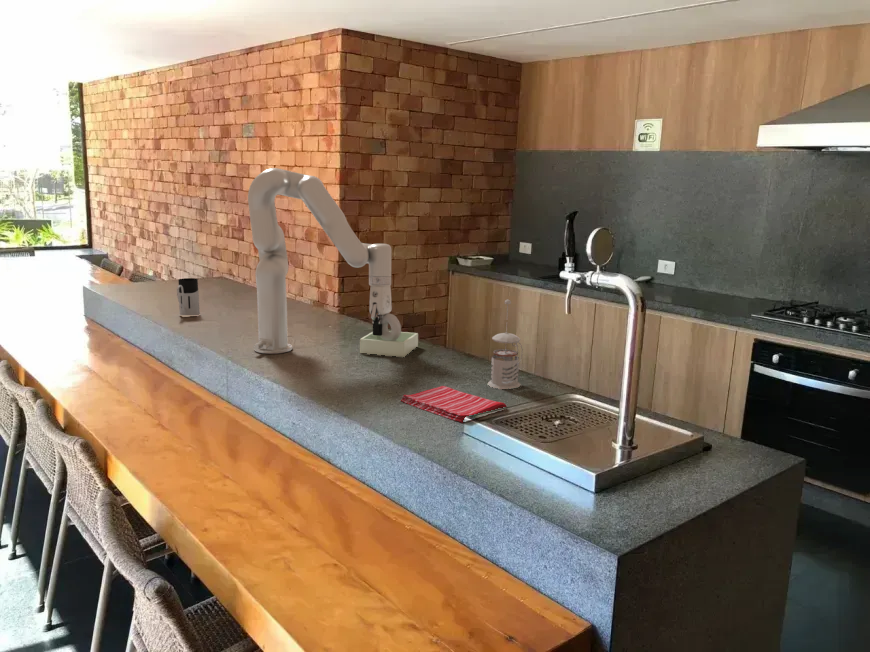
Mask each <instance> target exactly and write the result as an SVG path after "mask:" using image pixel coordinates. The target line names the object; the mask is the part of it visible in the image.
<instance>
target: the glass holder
mask: <svg viewBox="0 0 870 652" xmlns="http://www.w3.org/2000/svg"><path fill="white" fill-rule="evenodd" d="M198 280H199V279H198V278H194V277H191V278H189V277H188V278H184V277H183V278H179V279H178V285H177V288H176V293H177V294H176V296H177V300H178V305H179V306H178V307H179V314H180V315H199V314H201V311H200V295H199V294H200V293H199V292H200V291H199V281H198ZM179 314H178V315H179Z"/></svg>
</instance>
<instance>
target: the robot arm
mask: <svg viewBox="0 0 870 652" xmlns="http://www.w3.org/2000/svg"><path fill="white" fill-rule="evenodd" d="M247 193H248V194H247V203H248V212H249V213H248V214H249V220H250V228H251V229H250V230H251V236H252V242H253V245H254V246H255V248H256V249H257V251H258V259H259V261H258V263H257V265H256V267H255V286H256V300H257V303H256V305H257V326H258V328H257V329H258V331H257V333H258V340H257V341H258V342H256V343H254V344H253V350H254V351H255V352H256V353H260V354H268V355H269V354H270V355H271V354H275V355H276V354H283V353H287V352H291V350H293V345H292V344H290V343H288V342H289V341H288V303H287V300H288V299H287V283H286V279H287V278H286V276H287V275H288V272H289V257H288V252H287V246H286V239H285V234H284V233H285V232H284V230H283V229H282V227H281V226H280V225H279V222H278V218H277V209H276V203H275V200H276V197H277V196H285V197H288V198H292V199H297V200H301V201H302V202H303V203H304V205H305V207H306V208H307V209H308V210H309V211H310V213H311V214H312V215H313V217H314V218H315V221H316V222H317V223H318V224H319V226H320V227H321V228H322V230H323V231H324V233H325V234H326V235H327V237H328V238H329V239H330V241H331V242H332V244H333V245H334V247H335V248H336V249H337V250H338V252H339V254H341V257H343V259H344V260H345V262H346V263H347V264H348V265H350V267H352V268H362V267H364V266H365V265H366V264H368V285H369V286H370V290H369V291H370V292H369V314H370V315H371V316H370V318H371V320H372V321H371V322H372V332H373V335H378V336H381V335H382V324H381V319H382V316H384V315H385V314H387V313H390V312H392V309H393V306H392V305H393V304H392V287H391V286H392V247H391V245H390V244H387V243H373V244H372V243H366V242H365V243H363V242H362V241H360V239H359V238H358V237H357V235H356V233H355V232H354V230H353V229H352V227H351V226H350V224H349V222H348V220H347V217H346V215H345V213H344V212H343V210H342V209H341V208H340V206H339V205H338V203H337V202H336V201H335V200H334V198H333V196H332V195H331V194H330V193H329V191H328V190H327V188H326V186H325V185H324V183H323V181H322V180H321V179H320V178H319V177H317V176H314V175H309V174H304V173H299V172H295V171H291V170H287V169H282V168H278V167H271V168H268V169H264V170H263V171H262V172H261V173H259V174H258V175H256V176H255V178H254V179H252V182H251V183H250V185H249V188H248V192H247Z"/></svg>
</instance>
